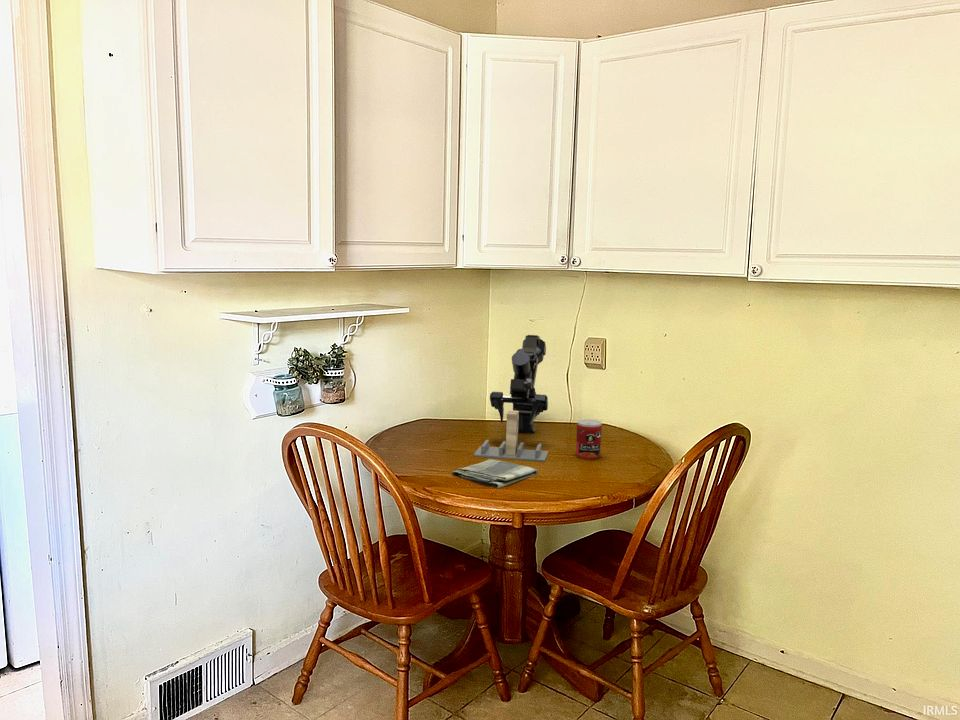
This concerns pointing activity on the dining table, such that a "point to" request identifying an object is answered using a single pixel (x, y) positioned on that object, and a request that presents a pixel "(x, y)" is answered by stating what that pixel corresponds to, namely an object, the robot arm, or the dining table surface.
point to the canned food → (588, 439)
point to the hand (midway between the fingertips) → (515, 423)
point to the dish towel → (495, 473)
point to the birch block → (512, 432)
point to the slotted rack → (520, 455)
